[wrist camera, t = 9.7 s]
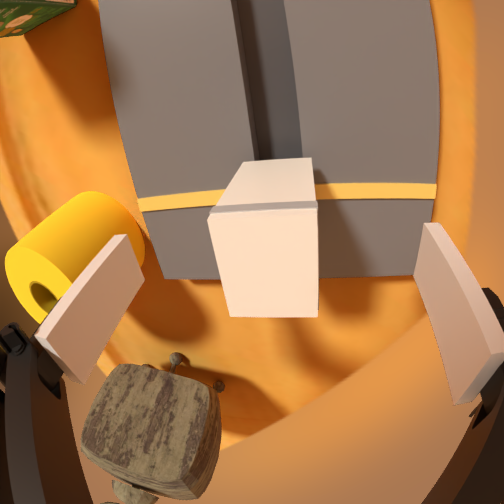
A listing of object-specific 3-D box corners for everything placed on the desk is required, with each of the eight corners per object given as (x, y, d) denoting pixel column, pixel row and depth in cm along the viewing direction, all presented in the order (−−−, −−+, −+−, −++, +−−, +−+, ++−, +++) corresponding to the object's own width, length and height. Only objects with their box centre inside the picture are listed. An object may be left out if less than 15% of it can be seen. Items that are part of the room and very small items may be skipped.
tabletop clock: (138, 368, 39) (78, 513, 19) (123, 328, 34) (39, 500, 14) (234, 390, 38) (193, 557, 18) (234, 352, 33) (180, 563, 12)
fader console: (114, -21, 13) (94, -27, 11) (399, -59, 9) (409, -72, 6) (174, 262, 27) (163, 280, 25) (411, 256, 23) (420, 276, 20)
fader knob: (249, 150, 19) (205, 218, 11) (310, 146, 18) (318, 213, 10) (258, 217, 22) (229, 317, 14) (314, 214, 21) (318, 317, 13)
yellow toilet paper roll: (92, 170, 23) (18, 221, 15) (165, 250, 26) (116, 325, 18) (53, 227, 27) (-2, 279, 19) (113, 291, 31) (71, 353, 23)
